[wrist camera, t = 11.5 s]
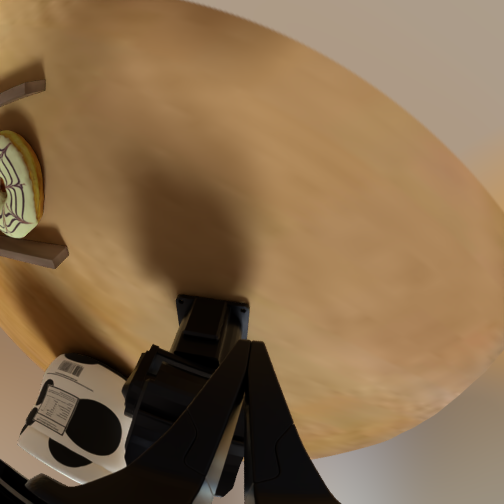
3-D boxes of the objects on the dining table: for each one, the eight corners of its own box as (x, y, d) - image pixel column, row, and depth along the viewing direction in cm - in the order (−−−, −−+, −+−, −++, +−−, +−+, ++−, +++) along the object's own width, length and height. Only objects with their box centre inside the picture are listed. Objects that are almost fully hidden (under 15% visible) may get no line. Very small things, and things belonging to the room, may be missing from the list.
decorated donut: (9, 227, 24) (-12, 243, 20) (-14, 141, 18) (-38, 152, 15) (62, 223, 22) (38, 244, 19) (38, 114, 17) (7, 124, 14)
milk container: (123, 412, 43) (94, 490, 28) (49, 356, 37) (5, 435, 22) (178, 401, 36) (148, 510, 21) (81, 328, 30) (16, 443, 15)
